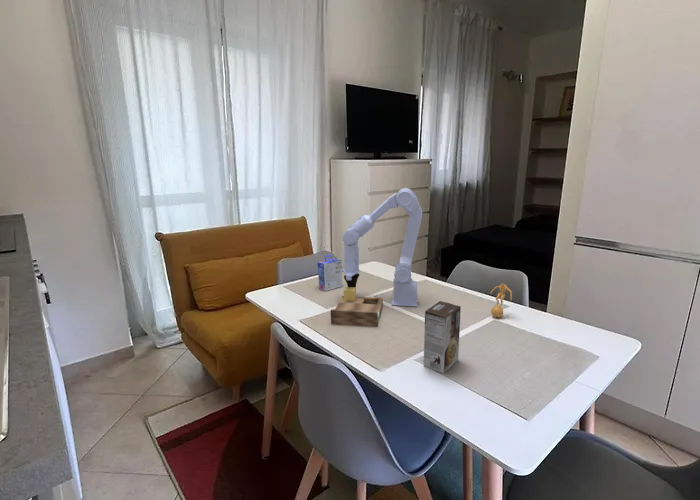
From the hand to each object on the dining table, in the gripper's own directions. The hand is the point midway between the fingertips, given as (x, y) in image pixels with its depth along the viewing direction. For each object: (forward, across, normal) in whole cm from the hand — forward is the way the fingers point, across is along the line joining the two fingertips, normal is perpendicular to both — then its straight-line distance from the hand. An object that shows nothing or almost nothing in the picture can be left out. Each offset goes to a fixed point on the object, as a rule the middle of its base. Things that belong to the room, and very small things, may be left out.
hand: (352, 292), depth 150 cm
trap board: (+3, +13, +4) cm, 14 cm away
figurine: (+4, +9, +54) cm, 55 cm away
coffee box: (+4, +44, +32) cm, 54 cm away
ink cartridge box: (+4, -14, -12) cm, 19 cm away
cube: (+1, +5, 0) cm, 5 cm away
